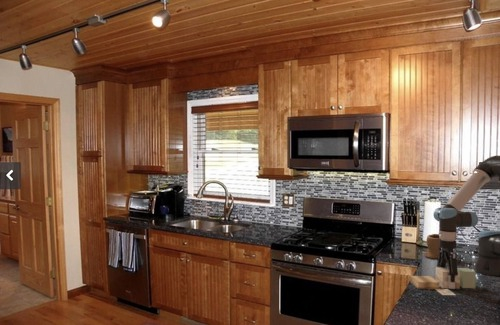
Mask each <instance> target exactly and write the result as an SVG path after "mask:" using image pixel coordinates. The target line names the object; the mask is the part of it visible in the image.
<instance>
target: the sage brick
mask: <svg viewBox="0 0 500 325" xmlns="http://www.w3.org/2000/svg"><path fill="white" fill-rule="evenodd" d="M457 270H458V271H459V272H460V287H461V288H462V289H476V277H477V276H476V274H477V272H476V271H475V270H473V269H471V268H468V267H457Z"/></svg>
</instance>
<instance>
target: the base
mask: <svg viewBox="0 0 500 325" xmlns="http://www.w3.org/2000/svg"><path fill="white" fill-rule="evenodd" d="M435 279H436V278H434V277H433V276H431V275H410V279H409V282H410V283H411V284H412V285H413V286H415V288H417V289H422V290H424V289H425V290H426V289H427V290H428V289H430V290H433V289H434V290H435V289H441V287H440V286H439V282H438V281H437V280H435Z"/></svg>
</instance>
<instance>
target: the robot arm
mask: <svg viewBox="0 0 500 325" xmlns="http://www.w3.org/2000/svg"><path fill="white" fill-rule="evenodd" d="M495 178H498V183H500V155H493V156H490V157H487V158H486V159H484V160H483V161H481V163H479V164H478V165H477V166H476V167H475V168H474V169H473V170H472V174H471V175H470V176H469V178H467V179H466V181H465V182H464V183H463V184H462V185H461V186H460V187H459V189H458V190H457V191H456V192H455V193H454V194H453V196H452V197H451V198H450V199H449V200H448V201H447V202H446V203H445V205H443V207H437V208H435V210H434V211H433V213H432V214H433V215H432V216H433V219H434V220H435V221H437V222H439V223H438V224H439V232H438V234H439V238H440V240H439V246H440V247H441V248H439V256H438V258H437V266H436V267H448V268H449V273H450V274H448V275H449V278H448V288H447V289H448V290H450V289H451V290H452V289H453V290H455V289H456V288H455V275H458V270H457V268H458V263H457V262H458V260H457V257H458V254H457V253H454V250H455V249H457V241H456V240H457V235H458V234H457V232H458V231H457V228H472V227H475V226H478V224H479V217H478V214H476V212H474V211H464V210H463V208H465V206H466V205H467V204H468V203H469V202H470V201H471V200H472V198H474V197H475V195H476V194H477V193H478V192H479V191H480V189H481V188H482V187H483V186H484V185H485V184H486V183H489V182H490V181H491V180H492V179H495ZM462 210H463V211H462ZM477 242H478V257H477V260H476V262H475V265H474V271H475V272H476V273H479V274H483V275H487V276H493V277H500V230H481V231H479V233H478V241H477ZM446 265H447V266H446Z"/></svg>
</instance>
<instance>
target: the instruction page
mask: <svg viewBox="0 0 500 325" xmlns="http://www.w3.org/2000/svg"><path fill="white" fill-rule="evenodd" d="M434 290H435V291H436V292H438V293H439V294H440V295H442V296H456V294H455V293H454V292H453V291H452V290H450V289H449V288H440V289H434Z"/></svg>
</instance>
